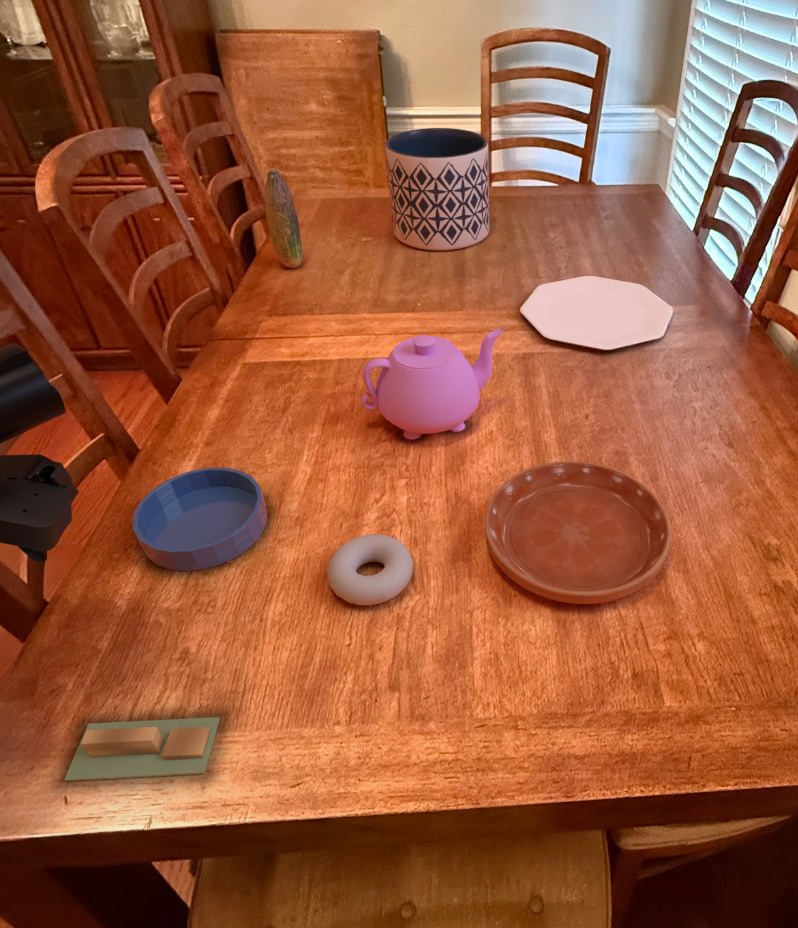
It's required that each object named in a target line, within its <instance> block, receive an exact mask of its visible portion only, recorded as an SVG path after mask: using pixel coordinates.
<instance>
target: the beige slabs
mask: <svg viewBox="0 0 798 928" xmlns="http://www.w3.org/2000/svg"><path fill="white" fill-rule="evenodd" d="M210 732H211V729H210V727H193V728H173V729H171V731H170V734H169V737H168V740H167V743H166V746H165V749H164V752H163V755H162V757H163V759H164V760H170V759H188V758H203V756H204V753H205V749H206V746H207V742H208V739H209V735H210ZM84 733H85V732H84ZM81 740H82V739H81ZM163 741H164V738H163V737H162V735H161V733H160V732H159V730H158V729H157V727H140V728H121V729H101V730H87V731H86V733H85V736H84V738H83V740H82V742H81V741H80V742H81V745H82V746H83V747H84V749H85V750H86V751H87V752H88V754H89V755H90V756H109V755H128V754H147V753H160V750H161V747H162V744H163Z"/></svg>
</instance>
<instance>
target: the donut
mask: <svg viewBox="0 0 798 928" xmlns="http://www.w3.org/2000/svg"><path fill="white" fill-rule="evenodd" d="M372 562H373V563H374V562H377V563H381V564H382V565H383V566H384V567H383V569H382V570H381V571H379V572H377V573H375V574H372V575H363V574H359V573H358V572H357V570H358V569H359V568H360V567H361V566H362V565H365V564H367V563H372ZM413 565H414V561H413V558H412V556H411V552H410V550H409V549H408V548H407V547H406V546H405V545H404V543H402V542H401V540H399V539H396V538H394V537H393V536H390V535H385V534H382V533H379V534H378V533H376V534H373V533H372V534H364V535H360V536H356V537H354V538H352V539H350V540H348V541H346V542H344V543H343V544H342V545H341V546H339V547H338V548H337V549H336V550H335V551H334V553H333V555H332V556H331V558H330V559H329V561H328V565H327V570H326V576H327V581H328V585H329V588H331V589H332V591H333V592H334V594H335V595H336V596H337V597H339V598H340V599H342V600H344V601H346V602H347V603H349V604H353V605H357V606H374V605H378V604H382V603H386V602H388V601H389V600H391V599H393V598H395V597H397V596H398V595H400V593H401V592H402V591H403V590H404V589H405V588H406V587H407V585H408V583H409V582H410V580H411V578H412V576H413V568H414V566H413Z"/></svg>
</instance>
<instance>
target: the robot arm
mask: <svg viewBox="0 0 798 928" xmlns="http://www.w3.org/2000/svg"><path fill="white" fill-rule="evenodd" d="M66 410H67V409H66V406H65V402H64V400H63V398H62V396H61V394H60V392H59V390H58V389H57V388H56V387H55V386H53V385H52V384H51V382H50V381H49V379H48V378H47V377H46V375H45V373H43V371H42V370H41V368H39V366H38V365H37V364H36V363H35V362H34V361H33V359H32V357H31V355H30V353H29V351H28V350H26V349H25V348H24V347H22V346H21V345H19V344H17V343H14V342H13V343H9V344H7V345H5V346H2V347H0V444H3V443H5V442H7V441H10V440H11V439H14V438H15V437H18V436H20V435H22V434H24V433H26V432H28V431H30V430H33V429H34V428H37V427H39V426H42V425H43V424H46V423H47V422H49V421H52V420H54V419H56V418H58V417H60V416H64V415H65V414H66V412H67V411H66ZM79 492H80V491H79V489H78V488H77V487H75V486H74V483H73V477H72V476H71V474H70V472H69V471H67V469H66V467H65V466H64V464H63V463H62V462H59V461H54V460H53V459H51V458H49V457H47V456H45V455H44V454H40V453H39V454H36V453H35V454H0V544H4V545H10V546H16V547H18V548H19V550H20V551H21V552H23V553H24V554H25V555H26V556H27V557H29V558H30V559H31V560H32V561H34V562H36V563H44V562H46V561H47V559H48V551H51V550H53V549H55V548H56V547H57V545H58V544H59V542H60V539H61V538H62V535H63V534H64V533H65V531H66V530H67V528H68V526H69V525H70V524H71V522H72V521H73V508H72V504H73V503H74V500H75V499H76V497H77V495H78V494H79Z"/></svg>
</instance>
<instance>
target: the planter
mask: <svg viewBox="0 0 798 928" xmlns="http://www.w3.org/2000/svg"><path fill="white" fill-rule="evenodd" d="M384 149H385V159H386V161H385V162H386V169H387V171H386V172H387V180H388V189H389V191H388V192H389V200H390V208H391V209H390V210H391V218H392V220H391V221H392V228H393V234H394V236H395V238H396V239H397V240H398V241H399V242H401V243H403V244H405V245H407V246H409V247H411V248H415V249H419V250H425V251H434V252H435V251H437V252H439V251H441V252H445V251H455V250H460V249H464V248H469V247H471V246H473V245H476V244H479V243H480V242H481V241H483V240H484V239H485V238H486V237H487V236H488V234H489V233H490V173H489V172H490V170H489V169H490V165H489V164H490V163H489V141H488V139H487V138H486V137H485V136H484V135H482V134H480V133H478V132H475V131H472V130H468V129H461V128H454V127H453V128H451V127H428V128H425V127H424V128H416V129H411V130H406V131H402V132H399V133H395V134H394V135H392V136H390V137H388V139H387V138H386V141H385V142H384Z"/></svg>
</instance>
